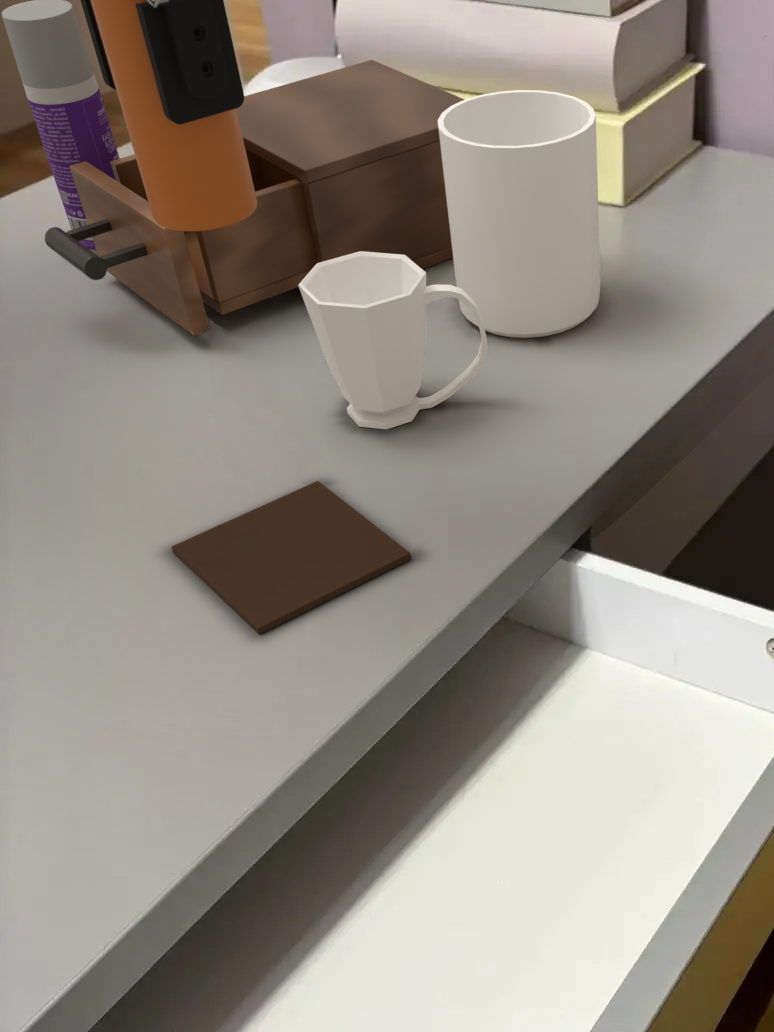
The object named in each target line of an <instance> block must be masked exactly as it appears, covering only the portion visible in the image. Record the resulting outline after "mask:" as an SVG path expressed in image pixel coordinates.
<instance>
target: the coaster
mask: <svg viewBox="0 0 774 1032" xmlns="http://www.w3.org/2000/svg"><path fill="white" fill-rule="evenodd" d="M170 548H171V551H172V553H173V554H174V555H175V556H176V557H177V558H178V559H179V560H180V561H182V563H184V565H186V566H187V568H189V569H190V570H191V571H192V572H193V573H194V574H195V576H197V577H198V578H199V579H200V580H201V581H203V582H204V584H205V585H207V586H208V587H209V588H210V589H211V590H212V591H213V592H214V593H215V594H216V595H217V596H218V597H220V599H221V600H222V601H223V602H225V604H227V605H228V606H229V608H231V609H232V610H233V611H234V612H235V613H236V614H237V615H238V616H239V617H241V618H242V620H244V622H246V623H247V624H248V625H249V626H250V627H251V628H252V629H253V630H254V631H255V632H256V633H257V634H258V635H261V634H263V633H265V632H267V631H269V630H271V629H273V628H275V627H277V626H279V625H282V624H283V623H285V622H288V621H289V620H291V619H293V618H295V617H297V616H299V615H301V614H303V613H305V612H307V611H309V610H311V609H313V608H315V607H318V606H320V605H321V604H323V603H326V602H327V601H330V600H331V599H334V598H335V597H337V596H339V595H341V594H344V593H346V592H348V591H350V590H352V589H354V588H355V587H357V586H360V585H362V584H364V583H366V582H368V581H369V580H372V579H374V578H376V577H377V576H380V575H382V574H384V573H386V572H388V571H390V570H392V569H394V568H396V567H398V566H400V565H402V564H403V563H406V562H408V561H409V560H411V559H412V556H411V555H412V554H411V552H410V551H408V549H406V548H404V547H403V546H402V545H401V544H399V543H398V542H397V541H396V540H395V539H394V538H392V537H391V536H390V535H388V534H387V533H386V532H384V531H383V530H382V529H380V528H379V527H378V526H376V525H375V523H372V521H370V520H369V519H367V517H365V516H364V515H363V514H361V513H360V512H359V511H358V510H356V509H355V508H354V507H352V506H351V505H350V504H349V503H347V502H346V501H344V500H343V499H342V498H341V497H340V496H338V495H337V494H336V493H334V492H333V491H332V490H331V489H329V488H328V487H327V486H325V485H324V484H323V483H322V482H321V481H319V480H317V481H314V482H312V483H309V484H308V485H305V486H302V487H301V488H299V489H297V490H294V491H292V492H290V493H287V494H285V495H283V496H281V497H279V498H277V499H274V500H272V501H270V502H268V503H265V504H263V505H261V506H259V507H255V508H254V509H252V510H250V511H247V512H245V513H243V514H241V515H239V516H236V517H234V518H232V519H229V520H227V521H225V522H223V523H220V524H218V525H216V526H213V527H212V528H209V529H206V530H205V531H202V532H201V533H199V534H196V535H193V536H191V537H189V538H187V539H185V540H183V541H181V542H178V543H176V544H174V545H172V546H171V547H170Z"/></svg>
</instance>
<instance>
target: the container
mask: <svg viewBox="0 0 774 1032" xmlns="http://www.w3.org/2000/svg"><path fill="white" fill-rule="evenodd" d="M1 18H2V21H3V24H4V28H5V30H6V34H7V37H8V40H9V43H10V47H11V51H12V54H13V57H14V59H15V63H16V66H17V70H18V73H19V76H20V79H21V82H22V85H23V89H24V92H25V95H26V99H27V102H28V104H29V105H28V106H29V107H30V110H31V113H32V117H33V120H34V122H35V125H36V129H37V131H38V134H39V137H40V141H41V144H42V146H43V149H44V153H45V155H46V158H47V162H48V164H49V167H50V170H51V173H52V177H53V179H54V181H55V184H56V188H57V190H58V191H57V192H58V194H59V196H60V200H61V203H62V205H63V208H64V212H65V215H66V218H67V220H68V223H69V226H70V230H73V229H76V228H79V227H82V226H86V225H88V222H87V219H86V216H85V213H84V210H83V207H82V204H81V201H80V198H79V195H78V191H77V188H76V185H75V182H74V179H73V176H72V173H71V170H70V166H71V165H74V164H78V163H81V162H84V161H86V162H88V163H89V164H91V165H92V166H94V167H96V168H97V169H99V170H100V171H102V172H103V173H105V174H106V175H108V176H109V177H111V178H113V179H114V180H116V179H115V176H114V173H113V169H112V166H111V163H110V162H111V161H114V160H117V159H120V155H119V152H118V148H117V145H116V141H115V138H114V134H113V130H112V128H111V125H110V120H109V117H108V113H107V111H106V108H105V107H106V106H105V104H104V100H103V97H102V94H101V89H100V87H99V84H98V81H97V78H96V75H95V71H94V68H93V65H92V62H91V59H90V55H89V53H88V50H87V46H86V44H85V40H84V38H83V34H82V32H81V28H80V25H79V22H78V18H77V15H76V12H75V9H74V6H73V4H72V3H71V2H69V1H67V0H28V1H24V2H20V3H15V4H12V5H10V6H8V7H6V8H4V9H3V10H2V12H1ZM78 242H80V243H81V244H82V245H84V246H85V247H86V248H88V249H89V250H90V251H92V252H93V253H95V254H96V255H97V256H98V253H97V250H96V247H95V244H94V241H93V238H92V237H90V238H87V239H84V240H81V241H78Z"/></svg>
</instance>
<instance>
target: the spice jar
mask: <svg viewBox="0 0 774 1032" xmlns="http://www.w3.org/2000/svg"><path fill="white" fill-rule="evenodd" d="M143 2H147V0H91V3H92V7H93V10H94V14H95V17H96V21H97V24H98V28H99V31H100V35H101V38H102V42H103V45H104V49H105V52H106V56H107V59H108V63H109V66H110V70H111V73H112V77H113V80H114V83H115V87H116V90H115V91H116V94H117V97H118V100H119V101H118V102H119V104H120V107H121V111H122V114H123V118H124V122H125V125H126V128H127V132H128V135H129V136H128V137H129V139H130V143H131V146H132V149H133V153H134V154H135V157H136V160H137V164H138V167H139V170H140V174H141V177H142V181H143V184H144V188H145V191H146V195H147V198H148V202H149V205H150V209H151V212H152V216H153V218H154V220H155V221H156V222H157V223H158V224H159V225H161V226H162V227H165V228H168V229H172V230H177V231H206V230H213V229H218V228H222V227H226V226H229V225H232V224H235V223H237V222H240V221H242V220H244V219H245V218H247V217H248V216H250V215H251V214H252V213H253V212H254V211H255V209H256V207H257V199H256V194H255V190H254V185H253V181H252V176H251V172H250V167H249V163H248V159H247V154H246V150H245V145H244V141H243V136H242V132H241V127H240V123H239V119H238V114H237V110H236V109H232V110H229V111H226V112H222V113H219V114H215V115H212V116H208V117H205V118H202V119H198V120H195V121H191V122H188V123H185V124H176V123H174V122H173V121H171V120H169V119H168V118H167V117H166V116H165V114H164V111H163V107H162V103H161V99H160V96H159V92H158V88H157V84H156V80H155V77H154V73H153V69H152V65H151V62H150V58H149V54H148V50H147V47H146V43H145V39H144V35H143V31H142V28H141V24H140V20H139V16H138V13H137V9H136V5H135V4H139V3H143Z"/></svg>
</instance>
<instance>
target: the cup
mask: <svg viewBox="0 0 774 1032" xmlns="http://www.w3.org/2000/svg"><path fill="white" fill-rule="evenodd" d="M298 286H299V287H298V288H299V291H300V294H301V298H302V299H303V302H304V305H305V308H306V310H307V313H308V316H309V318H310V321H311V323H312V326H313V329H314V332H315V334H316V337H317V340H318V343H319V345H320V346H319V347H320V349H321V351H322V354H323V356H324V357H323V358H324V360H325V363H326V366H327V367H328V370H329V371H330V373H331V376H332V377H333V379H334V381H335V383H336V385H337V388H338V389H339V391H340V393H341V395H342V397H343V398H344V399H345V400H346V401H347V402H348V403H349V405H348V406H347V407H346V411H347V415H348V416H349V417H350V418H351V419H352V420H353V421H354V422H355V424H356V425H357V426H358V427H361V428H369V429H370V428H371V429H378V430H389V429H393V428H395V427H398V426H402V425H404V424H407V423H411V422H413V421H414V419H415V417H416V416H417V414H418V413H419V411H420V410H425V409H432V408H433V407H435V406H437V405H439V404H440V403H443V402H444V401H446V400H448V399H449V398H450V397H452V396H453V395H454V394H455V393H457V392H458V391H459V390H460V389H462V388H463V387H464V386H465V385H466V384H467V383H468V382H469V381H471V379H473V378H474V377H475V375H476V374H477V372H479V370H480V368H481V367H482V366H483V364H484V363H485V359H486V355H487V354H486V353H487V350H488V340H487V334H486V331H485V328H484V323H483V320H482V317H481V315H480V312H479V310H478V308H477V305H476V303H475V301H474V300H473V299H472V298H471V297H470V296H469V295H468V294H466V293H465V292H464V291H463V290H462V289H461V288H458V287H457V286H455V285H452V284H429V285H427V272H426V271H425V270H424V269H421V268H420V267H419V266H418V265H416V264H415V263H414V262H413V261H412V260H410V259H409V258H408V257H407V256H406V255H401V254H389V253H376V252H364V251H359V252H356V253H352V254H349V255H345V256H341V257H338V258H334V259H330V260H327V261H323V262H320V263H317V264H316V265H315V266H314V267H313V269H312V270H311V271H310V272H309V273H308V274H307V276H306V277H305V278H304V279H303V280H302V281H301V282H300V284H299V285H298ZM446 298H454V299H456V300H458V301H459V300H460V301H461V302H462V303H464V304H465V305H466V306H467V307H468V308H469V309H470V310H471V311H472V312H473V314H474V316H475V319H476V321H477V324H478V326H479V327H478V326H477V327H478V329H479V333H480V338H481V339H480V344H479V349H478V352H477V355H476V356H475V357H474V359H473V360H472V361H471V363H470V364H469V365H468V366H467V368H466V369H465V370H463V371H462V372H461V373H460V374H459V375H457V377H455V378H454V379H453V380H452V381H451V382H449V384H447V385H446V386H445V387H443V388H441V389H440V390H439V391H438V390H437V391H436V392H435V393H433V394H431V395H429V396H425V397H418V396H417V394H418V392H419V391H420V389H421V387H422V379H423V373H424V363H425V356H426V305H427V304H430V303H433V302H435V301H439V300H442V299H446Z"/></svg>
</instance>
